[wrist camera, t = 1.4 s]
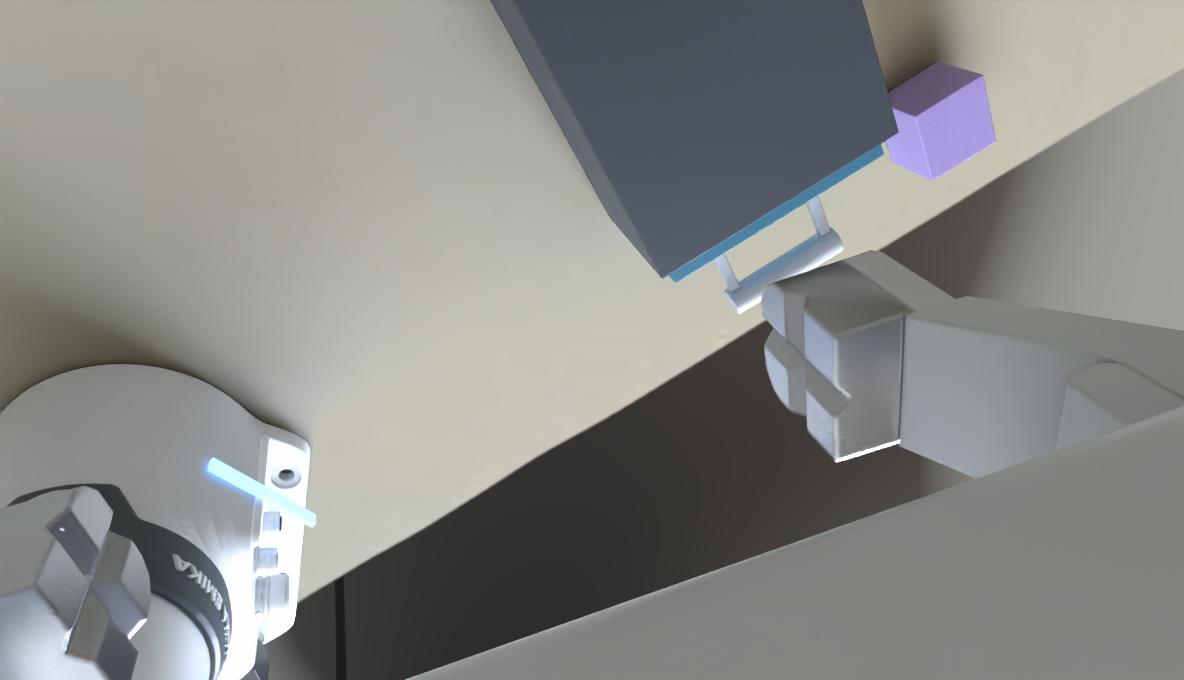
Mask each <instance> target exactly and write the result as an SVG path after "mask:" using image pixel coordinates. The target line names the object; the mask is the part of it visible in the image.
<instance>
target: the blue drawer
mask: <svg viewBox="0 0 1184 680" xmlns="http://www.w3.org/2000/svg"><path fill="white" fill-rule="evenodd" d="M882 155H884V153H883V150H882V146H881V144H880V145H878V146H877V147H875V148H873V149H872V150H870V151H868V152H867V153H865V154H864V155H862V156H860V157H859V158H857V159H856V160H854V161H852V162H851V163H849V164H847V165H846V166H844V167H843V168H841V169H839V170H838V171H836V172H835V173H833V174H831V175H830V176H828V177H826V178H825V179H823V180H822V181H820V182H818V183H817V184H815V185H813V186H812V187H810V188H809V189H807V190H805V191H804V192H802V193H801V194H799V195H797V196H796V197H794V198H792V199H791V200H789V201H788V202H786V203H784V204H783V205H781V206H780V207H778V208H776V209H775V210H773V211H771V212H770V213H768V214H767V215H765V216H763V217H762V218H760V219H759V220H757V221H755V222H754V223H752V224H750V225H749V226H747V227H746V228H744V229H742V230H741V231H739V232H738V233H736V234H734V235H733V236H731V237H729V238H728V239H726V240H725V241H723V242H721V243H720V244H718V245H717V246H715V247H713V248H712V249H710V250H708V251H707V252H705V253H704V254H702V255H700V256H699V257H697V258H696V259H694V260H692V261H691V262H689V263H687V264H686V265H684V266H683V267H681V268H679V269H678V270H676V271H675V272H673V273H671V274H670V275H669V276H670V277H671V279H672V280H673V281H674V282H675V283H677V282H679V281H680V280H682V279H683V278H685V277H687V276H688V275H690V274H692V273H693V272H695V271H696V270H698V269H700V268H701V267H703V266H704V265H706V264H708V263H709V262H711V261H713V260H714V262H715V264H716V266H717V268H718V270H719V272H720V274H721V276H722V278H723V280H724V283H725V285H726V287H727V288H728V289H726V290H725V291H724V293H725V296H726V298H727V300H728V302H729V304H730V305H731V307H732V308H733V309H734V311H735V312H736V313H738V314H740V313H742V312H744V311H745V310H747V309H749V308H750V307H752V306H753V305H755V304H757V303H758V302H760V301H762V300H761V298H762V293H763V288H764V286H765V285H768V284H770V283H773V282H776V281H779V280H782V279H785V278H788V277H792V276H795V275H798V274H801V273H804V272H807V271H810V270H812V269H813V268H815V267H817V266H818V265H820V264H822V263H823V262H825V261H826V260H828V259H830V258H831V257H833V256H834V255H836V254H838V253H839V252H841V251H842V250H843V244H842V241H841V239H840V237H839V236H838V234H837V233H836V232H835V231H834V230H833V229H832V228H830V227H829V225H828V222H827V219H826V216H825V214H824V211H823V208H822V205H821V203H820V200H819V197H818V195H819V194H821V193H822V192H824V191H826V190H827V189H829V188H831V187H832V186H834V185H835V184H837V183H839V182H840V181H842V180H844V179H845V178H847V177H848V176H850V175H852V174H853V173H855V172H856V171H858V170H860V169H861V168H863V167H865V166H866V165H868V164H869V163H871V162H873V161H874V160H876V159H877V158H879V157H881V156H882ZM805 203H806V204H807V207H808V209H809V212H810V215H811V217H812V220H813V223H814V225H815V228H816V231H817V234H815V235H814V236H812V237H810V238H809V239H807V240H806V241H804V242H802V243H801V244H799V245H797V246H796V247H794V248H793V249H791V250H789V251H788V252H786V253H784V254H783V255H781V256H780V257H778V258H776V259H775V260H773V261H772V262H770V263H768V264H767V265H765V266H763V267H762V268H760V269H759V270H757V271H755V272H754V273H752V274H750V275H749V276H747V277H746V278H744V279H742V280H741V281H739V282H738V281H737V279H736V277H735V275H734V273H733V271H732V269H731V266H730V264H729V262H728V260H727V258H726V256H725V254H724V253H725V252H727V251H729V250H730V249H732V248H734V247H735V246H737V245H738V244H740V243H742V242H743V241H745V240H747V239H748V238H750V237H751V236H753V235H755V234H756V233H758V232H759V231H761V230H763V229H764V228H766V227H768V226H769V225H771V224H772V223H774V222H776V221H777V220H779V219H780V218H782V217H784V216H785V215H787V214H789V213H790V212H792V211H793V210H795V209H797V208H798V207H800V206H801V205H803V204H805Z"/></svg>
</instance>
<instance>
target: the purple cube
mask: <svg viewBox="0 0 1184 680" xmlns="http://www.w3.org/2000/svg"><path fill="white" fill-rule="evenodd" d="M888 95H889V98H890V102H891V106H892V109H893V113H894V116H895V120H896V123H897V127H898V131H899V133H898V134H896V135H894V136H893V137H891V138H889V139H888V140H886V143H887V146H888V149H889V153H890V156H891V160H892V162H894V163H896V164H898V165H900V166H902V167H904V168H906V169H908V170H910V171H913V172H915V173H917V174H919V175H921V176H923V177H925V178H927V179H929V180H931V181H933V180H934V179H936V178H938V177H939V176H941V175H943V174H944V173H946V172H947V171H949V170H951V169H952V168H954V167H955V166H957V165H959V164H960V163H962V162H964V161H965V160H967V159H968V158H970V157H972V156H973V155H975V154H977V153H978V152H980V151H981V150H983V149H985V148H986V147H988V146H990V145H991V144H993V143H994V142H996V137H995V132H994V127H993V123H992V118H991V113H990V108H989V103H988V98H987V93H986V88H985V83H984V78H983V75H982V74H978V73H975V72H971V71H968V70H964V69H961V68H957V67H953V66H950V65H946V64H943V63H939V62H936V63H934V64H933V65H931V66H930V67H928V68H926V69H925V70H923V71H922V72H920V73H918V74H917V75H915V76H913V77H912V78H910V79H909V80H907V81H905V82H904V83H902V84H901V85H899V86H897V87H896V88H894V89H893V90H891V91H889V92H888Z"/></svg>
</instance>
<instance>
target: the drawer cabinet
mask: <svg viewBox="0 0 1184 680" xmlns="http://www.w3.org/2000/svg"><path fill="white" fill-rule="evenodd" d="M490 1H491V2H492V4H493V6H494V8H495V10H496V11H497V13H498V15H499V17H500V19H501V21H502V22H503V24H504V26H505V28H506V30H507V31H508V33H509V35H510V37H511V39H512V41H513V42H514V44H515V46H516V48H517V50H518V51H519V53H520V55H521V57H522V59H523V61H524V62H525V64H526V66H527V68H528V70H529V71H530V73H531V75H532V77H533V79H534V80H535V82H536V84H537V86H538V88H539V90H540V91H541V93H542V95H543V97H544V99H545V100H546V102H547V104H548V106H549V108H550V110H551V111H552V113H553V115H554V117H555V119H556V120H557V122H558V124H559V126H560V128H561V130H562V131H563V133H564V135H565V137H566V139H567V140H568V142H569V144H570V146H571V148H572V149H573V151H574V153H575V155H576V157H577V159H578V160H579V162H580V164H581V166H582V168H583V169H584V171H585V173H586V175H587V177H588V179H589V180H590V182H591V184H592V186H593V188H594V189H595V191H596V193H597V195H598V197H599V199H600V200H601V202H602V204H603V206H604V208H605V209H606V211H607V213H608V215H609V217H610V218H611V220H612V221H613V222H614V223H615V224H616V226H617V227H618V228H619V229H620V230H621V231H622V233H623V234H624V235H625V236H626V237H627V238H628V240H629V241H630V242H631V243H632V244H633V245H634V247H635V248H636V249H637V250H638V251H639V252H640V254H641V255H642V256H643V257H644V258H645V259H646V261H647V262H648V263H649V264H650V265H651V266H652V268H653V269H654V270H655V271H656V272H657V273H658V275H659V276H660V277H661V278H662V279H663V278H665V277H666V276H668V275H670V274H671V273H673V272H675V271H676V270H678V269H679V268H681V267H683V266H684V265H686V264H687V263H689V262H691V261H692V260H694V259H696V258H697V257H699V256H700V255H702V254H704V253H705V252H707V251H708V250H710V249H712V248H713V247H715V246H717V245H718V244H720V243H721V242H723V241H725V240H726V239H728V238H729V237H731V236H733V235H734V234H736V233H738V232H739V231H741V230H742V229H744V228H746V227H747V226H749V225H750V224H752V223H754V222H755V221H757V220H759V219H760V218H762V217H763V216H765V215H767V214H768V213H770V212H771V211H773V210H775V209H776V208H778V207H780V206H781V205H783V204H784V203H786V202H788V201H789V200H791V199H792V198H794V197H796V196H797V195H799V194H801V193H802V192H804V191H805V190H807V189H809V188H810V187H812V186H813V185H815V184H817V183H818V182H820V181H822V180H823V179H825V178H826V177H828V176H830V175H831V174H833V173H835V172H836V171H838V170H839V169H841V168H843V167H844V166H846V165H847V164H849V163H851V162H852V161H854V160H856V159H857V158H859V157H860V156H862V155H864V154H865V153H867V152H868V151H870V150H872V149H873V148H875V147H877V146H878V145H880V144H881V143H883V142H885V141H886V140H888V139H889V138H891V137H893V136H894V135H896V134H898V133H899V131H898V127H897V123H896V120H895V116H894V113H893V109H892V106H891V102H890V98H889V95H888V91H887V88H886V84H885V81H884V77H883V74H882V70H881V66H880V63H879V59H878V56H877V52H876V49H875V45H874V42H873V38H872V34H871V31H870V27H869V24H868V20H867V17H866V13H865V9H864V6H863V2H862V0H490Z"/></svg>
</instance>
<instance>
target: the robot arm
mask: <svg viewBox="0 0 1184 680" xmlns="http://www.w3.org/2000/svg"><path fill="white" fill-rule="evenodd" d="M761 300H762V316H763V317H764V318H765V319H766V320H767V321H768V322H769V323H770V324H771V325H772V326H773V327H774V328H773V330H772V332H771V334H770V336H769V337H768V339H767V341H766V343H765V345H764V348H765V358H766V367H767V371H768V374H769V377H770V380H771V383H772V386H773V388H774V390H775V391H776V393H777V395H778V397H779V399H780V400H781V401H782V403H783V404H784V405H785V406H786V407H787V408H788V410H789V411H791V412H794V413H797V414H800V415H804V416H806V417H807V430H808V432H809V433H810V435H811V436H812V437H813V438H814V439H815V440H816V441H817V442H818V443H819V445H820V446H821V447H822V448H823V449H824V450H825V451H826V452H827V453H828V454H829V456H830V457H831V458H832V459H833V460H834V461H835V462H839V461H842V460H845V459H849V458H852V457H855V456H858V455H862V454H865V453H868V452H871V451H874V450H878V449H881V448H884V447H887V446H891V445H894V444H897V443H900V446H901V447H903V448H905V449H908V450H910V451H912V452H915V453H917V454H920V455H922V456H924V457H927V458H929V459H931V460H934V461H936V462H938V463H941V464H943V465H946V466H948V467H951V468H953V469H955V470H957V471H960V472H962V473H964V474H967V475H969V476H972V477H974V478H976V479H974V480H971V481H968V482H965V483H962V484H959V485H957V486H954V487H951V488H948V489H945V490H942V491H940V492H937V493H934V494H931V495H928V496H926V497H923V498H920V499H917V500H914V501H911V502H908V503H906V504H903V505H900V506H897V507H894V508H891V509H889V510H886V511H883V512H880V513H877V514H874V515H872V516H869V517H866V518H863V519H861V520H857V521H854V522H852V523H849V524H846V525H843V526H841V527H837V528H835V529H832V530H829V531H826V532H823V533H820V534H818V535H815V536H812V537H809V538H806V539H803V540H800V541H798V542H795V543H792V544H789V545H787V546H784V547H781V548H778V549H775V550H772V551H769V552H766V553H764V554H761V555H758V556H755V557H752V558H749V559H747V560H744V561H741V562H738V563H735V564H733V565H730V566H727V567H724V568H721V569H718V570H715V571H713V572H710V573H707V574H704V575H701V576H698V577H696V578H693V579H690V580H687V581H684V582H681V583H678V584H676V585H673V586H670V587H667V588H664V589H661V590H658V591H656V592H653V593H650V594H647V595H644V596H642V597H639V598H636V599H633V600H630V601H627V602H624V603H622V604H619V605H616V606H613V607H610V608H607V609H605V610H602V611H599V612H596V613H593V614H590V615H588V616H585V617H582V618H579V619H577V620H574V621H570V622H568V623H565V624H562V625H559V626H556V627H553V628H551V629H548V630H545V631H542V632H539V633H537V634H534V635H531V636H528V637H525V638H522V639H519V640H517V641H514V642H511V643H508V644H505V645H503V646H500V647H497V648H494V649H491V650H488V651H485V652H482V653H480V654H477V655H474V656H471V657H469V658H466V659H463V660H460V661H457V662H454V663H451V664H449V665H446V666H443V667H440V668H437V669H434V670H431V671H428V672H426V673H423V674H420V675H417V676H414V677H411V678H408V679H406V680H1184V331H1180V330H1174V329H1168V328H1162V327H1155V326H1149V325H1143V324H1137V323H1130V322H1124V321H1118V320H1112V319H1106V318H1099V317H1093V316H1087V315H1081V314H1074V313H1068V312H1062V311H1056V310H1050V309H1044V308H1038V307H1032V306H1025V305H1019V304H1013V303H1007V302H1000V301H994V300H988V299H982V298H976V297H970V296H966V297H963V298H959V299H954V298H953V297H951V296H950V295H948V294H946V293H945V292H943V291H942V290H940V289H939V288H937V287H935V286H934V285H932V284H931V283H929V282H928V281H926V280H924V279H923V278H921V277H920V276H918V275H917V274H915V273H914V272H912V271H911V270H909V269H907V268H906V267H904V266H903V265H901V264H899V263H898V262H896V261H895V260H893V259H892V258H890V257H889V256H887V255H886V254H884V253H882V252H881V251H872V250H870V251H867V252H864V253H861V254H858V255H855V256H852V257H849V258H847V259H844V260H841V261H838V262H835V263H832V264H829V265H825V266H822V267H819V268H816V269H813V270H810V271H807V272H804V273H801V274H798V275H795V276H792V277H788V278H785V279H782V280H779V281H776V282H773V283H770V284H768V285H765V286H764V288H763V293H762V298H761ZM309 462H310V448H309V445H308V443H307V442H306V441H305V440H304V439H302V438H301V437H299V436H297V435H295V434H293V433H291V432H288V431H286V430H283V429H280V428H278V427H275V426H272V425H269V424H266V423H263V422H261V421H260V420H258V419H256V418H255V417H254V416H252V415H251V414H250V413H249V412H247V411H246V410H245V409H244V408H243V407H242V406H240V405H239V404H238V403H237V402H236V401H234V400H233V399H232V398H231V397H229V396H228V395H226V394H225V393H223V392H222V391H220V390H219V389H217V388H215V387H213V386H211V385H210V384H208V383H205V382H203V381H201V380H199V379H197V378H194V377H191V376H189V375H186V374H183V373H180V372H176V371H172V370H169V369H164V368H159V367H153V366H146V365H135V364H109V365H98V366H91V367H85V368H80V369H76V370H72V371H68V372H65V373H62V374H59V375H56V376H54V377H51V378H49V379H46V380H44V381H42V382H40V383H38V384H36V385H35V386H33V387H31V388H29V389H28V390H26V391H25V392H23V393H22V394H21V395H19V396H18V397H17V398H16V399H14V400H13V401H12V402H11V403H10V404H9V405H8V406H7V407H6V408H5V409H4V410H3V411H2V413H1V414H0V680H268V669H269V656H268V654H267V652H266V650H265V648H264V646H263V644H265V643H267V642H269V641H271V640H273V639H275V638H276V637H278V636H279V635H281V634H283V633H284V632H285V631H287V630H288V629H289V628H291V626H292V625H293V623H294V619H295V613H296V607H297V598H298V587H299V575H300V564H301V553H302V541H303V530H304V523H305V524H306V525H308V526H310V527H313V526H314V525H315V524H316V515H315V514H314V513H312V512H310V511H308V510H306V509H305V507H306V496H307V484H308V473H309ZM285 469H289V470H291V471H293V472H291V473H288V474H285V473H282V472H281V471H282V470H285ZM344 600H345V599H344V574H343V575H342V576H340V577H338V578H336V579H335V621H336V622H335V625H336V680H347V678H346V677H347V676H346V633H345V601H344Z"/></svg>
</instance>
